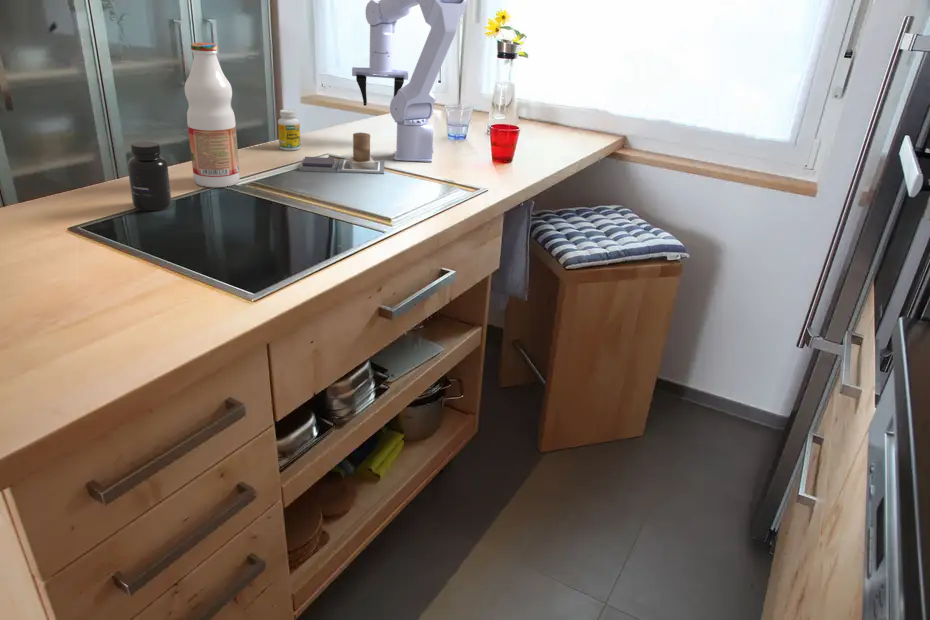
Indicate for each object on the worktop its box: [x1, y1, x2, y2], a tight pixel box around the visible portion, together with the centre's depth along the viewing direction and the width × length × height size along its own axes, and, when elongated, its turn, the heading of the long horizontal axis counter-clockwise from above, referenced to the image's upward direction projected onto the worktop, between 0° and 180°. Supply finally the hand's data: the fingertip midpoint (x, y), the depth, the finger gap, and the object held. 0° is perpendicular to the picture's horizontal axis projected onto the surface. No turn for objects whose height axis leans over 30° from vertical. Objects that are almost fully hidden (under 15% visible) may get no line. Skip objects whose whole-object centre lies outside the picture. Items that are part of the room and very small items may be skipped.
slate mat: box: [336, 158, 385, 175], centre depth 166 cm, size 11×11×1 cm
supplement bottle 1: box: [127, 140, 172, 212], centre depth 128 cm, size 7×7×12 cm
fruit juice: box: [184, 42, 241, 188], centre depth 141 cm, size 9×9×28 cm
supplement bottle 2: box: [277, 108, 301, 151], centre depth 175 cm, size 5×5×10 cm
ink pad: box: [299, 156, 338, 173], centre depth 163 cm, size 8×7×2 cm
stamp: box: [348, 132, 375, 169], centre depth 164 cm, size 6×6×8 cm
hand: (379, 105), depth 182 cm, fingers open, 7 cm apart
